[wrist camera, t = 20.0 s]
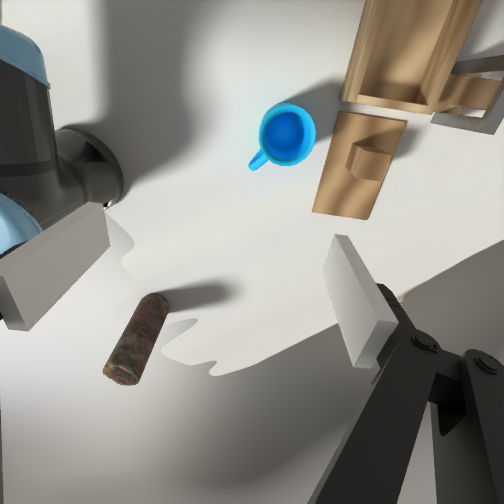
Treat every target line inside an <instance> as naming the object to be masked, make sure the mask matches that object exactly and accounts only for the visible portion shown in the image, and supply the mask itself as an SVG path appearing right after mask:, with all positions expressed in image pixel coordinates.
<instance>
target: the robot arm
mask: <svg viewBox="0 0 504 504" xmlns="http://www.w3.org/2000/svg"><path fill="white" fill-rule="evenodd" d="M49 89H51V87H50V84H49V82H48V81H47V75H46V70H45V64H44V59H43V55H42V53H41V51H40V49H39V47H38V46H37V45H36V44H35V43H34V41H32V40H31V39H30V38H29V37H27V36H26V35H24V34H22V33H20V32H17V31H15V30H13V29H10V28H8V27H6V26H3V25H1V24H0V320H1V319H3V320H4V322H5V324H6V326H7V328H8V329H11V330H20V331H29V330H30V329H31V328H32V327H33V326H34V325H35V324H36V323H37V322H38V321H39V320H40V319H41V318H42V317H43V316H44V315H45V314H46V312H47V311H48V310H49V309H50V308H51V307H52V306H53V305H54V304H55V303H56V302H57V301H58V300H59V299H60V298H61V297H62V296H63V295H64V294H65V293H66V291H68V290H69V288H70V287H71V286H72V285H73V284H74V283H75V282H76V281H77V280H78V279H79V278H80V277H81V276H82V275H83V274H84V273H85V272H86V271H87V270H88V269H89V268H90V267H91V266H92V265H93V263H94V262H95V261H96V260H97V259H98V258H99V257H100V256H101V255H102V254H103V253H104V252H105V251H106V250H107V249H108V248H109V247H110V242H109V236H108V231H107V226H106V219H105V214H104V210H106V209H108V208H109V207H111V206H112V205H113V204H114V203H116V202H117V200H118V199H119V197H120V195H121V193H122V189H123V176H122V172H121V169H120V166H119V164H118V162H117V160H116V158H115V157H114V155H113V154H112V153H111V151H110V150H109V149H108V148H107V147H106V146H105V145H104V144H103V143H102V142H101V141H99V140H98V139H96V138H95V137H93V136H92V135H90V134H88V133H85V132H83V131H79V130H75V129H62V130H56V131H55V130H54V123H53V116H52V109H51V101H50V94H49ZM322 275H323V278H324V281H325V284H326V287H327V290H328V293H329V296H330V299H331V302H332V305H333V308H334V311H335V314H336V317H337V320H338V323H339V326H340V329H341V332H342V335H343V338H344V341H345V344H346V346H347V350H348V353H349V356H350V359H351V362H352V365H353V367H358V368H368V369H371V368H372V366H373V365H374V363H375V361H376V360H377V361H378V364H379V366H380V370H379V372H378V373H377V375H376V376H375V378H374V380H373V381H372V383H371V386H370V388H369V390H368V392H367V394H366V395H365V397H364V399H363V401H362V403H361V405H360V407H359V408H358V411H357V412H356V414H355V416H354V418H353V420H352V421H351V423H350V425H349V427H348V429H347V431H346V433H345V435H344V437H343V438H342V440H341V442H340V444H339V446H338V448H337V449H336V451H335V453H334V455H333V457H332V459H331V460H330V462H329V464H328V466H327V468H326V470H325V472H324V474H323V475H322V477H321V479H320V481H319V483H318V485H317V487H316V488H315V490H314V492H313V494H312V496H311V498H310V499H309V501H308V503H307V504H397V500H398V497H399V494H400V490H401V487H402V484H403V481H404V477H405V474H406V471H407V467H408V464H409V461H410V457H411V454H412V451H413V447H414V444H415V441H416V437H417V434H418V431H419V428H420V424H421V421H422V418H423V414H424V411H425V408H426V404H427V401H429V402H430V408H431V423H432V437H433V452H434V466H435V480H436V495H437V504H504V366H503V365H502V364H501V363H500V362H499V361H498V360H496V359H495V358H494V357H492V356H490V355H488V354H486V353H484V352H482V351H478V350H475V349H469V350H467V351H466V352H465V353H464V354H463V355H462V356H459V355H456V354H453V353H450V352H448V351H445V350H442V349H441V347H440V346H439V344H438V343H437V342H436V341H435V340H434V339H433V338H432V337H431V336H429V335H428V334H426V333H425V332H422V331H420V330H417V329H416V328H415V327H414V325H413V323H412V322H411V320H410V319H409V317H408V316H407V314H406V313H405V311H404V310H403V308H401V305H400V303H399V302H398V301H397V299H396V297H395V296H394V294H393V293H392V291H391V290H389V289H388V288H387V287H386V286H385V285H384V284H378V283H375V281H374V280H373V278H372V276H371V275H370V273H369V271H368V269H367V268H366V266H365V264H364V263H363V261H362V259H361V258H360V256H359V254H358V253H357V251H356V249H355V247H354V246H353V244H352V242H351V241H350V239H349V237H348V236H345V235H337V234H335V235H334V238H333V241H332V244H331V247H330V250H329V253H328V256H327V258H326V261H325V264H324V267H323V270H322ZM0 504H4V503H3V472H2V442H1V411H0Z"/></svg>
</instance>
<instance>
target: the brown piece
mask: <svg viewBox="0 0 504 504" xmlns="http://www.w3.org/2000/svg"><path fill="white" fill-rule="evenodd" d="M168 310H169V306H168V304H167V302H166V300H165V298H164V297H162V296H160V295H153V294H150V295H148V296H145V297H144V298H142V299H141V301H140V303H139V304H138V306H137V308H136V310H135V312H134V314H133V316H132V317H131V319H130V321H129V323H128V325H127V327H126V328H125V330H124V332H123V334H122V336H121V338H120V339H119V341H118V343H117V345H116V347H115V348H114V350H113V352H112V354H111V355H110V358H109V359H108V361H107V363H106V365H105V367H104V368H103V374H105V375H106V376H107V377H108V378H110V379H112V380H113V381H115V382H116V383H118V384H120V385H136V384H138V382H139V380H140V378H141V376H142V373H143V371H144V368H145V366H146V363H147V361H148V358H149V356H150V354H151V352H152V349H153V347H154V344H155V342H156V339H157V337H158V335H159V333H160V330H161V328H162V326H163V324H164V321H165V319H166V316H167V314H168Z"/></svg>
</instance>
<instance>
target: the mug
mask: <svg viewBox="0 0 504 504" xmlns="http://www.w3.org/2000/svg"><path fill="white" fill-rule="evenodd" d="M315 138H316V129H315V123H314V121H313V120H312V118H311V116H310V114H308V113H307V112H306V111H305V110H304V109H303V108H301V107H299V106H297V105H294V104H292V103H280V104H277V105H274V106H273V107H272V108H270V109H269V110H268V111H267V112H266V114H265V115H264V117H263V119H262V122H261V125H260V131H259V143H260V147H261V150H260V151H259V152H258V153H257V154H256V155H255V156H254V158H253V159H252V160H251V161H250V163H249V165H248V166H249V168H250V170H252V171H254V170H257V169H258V168H259V167H261V166H262V165H263V164H264V163H265V162H267V161H268V160H270V161H271V162H272V163H274V164H277V165H280V166H291V165H294V164H298V163H299V162H301V161H302V160H304V159H305V158H306V157H307V156H308V154H309V153H310V152H311V150H312V148H313V146H314V143H315Z"/></svg>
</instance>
